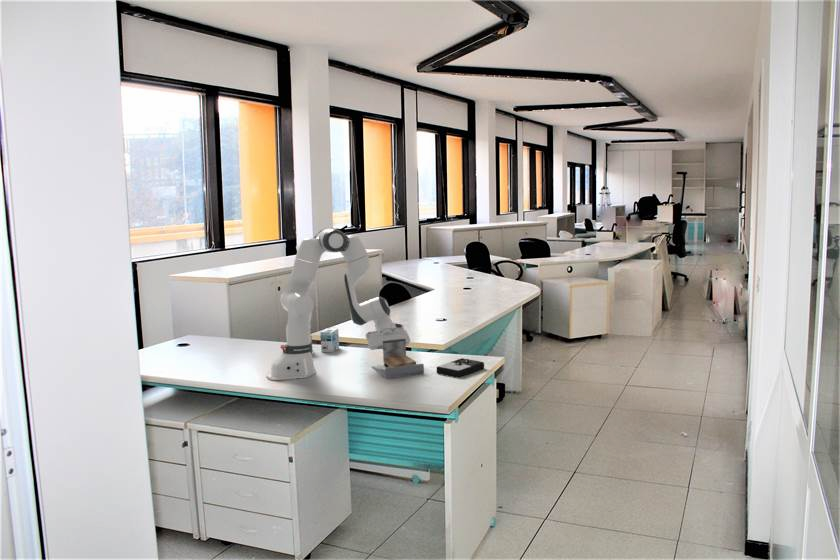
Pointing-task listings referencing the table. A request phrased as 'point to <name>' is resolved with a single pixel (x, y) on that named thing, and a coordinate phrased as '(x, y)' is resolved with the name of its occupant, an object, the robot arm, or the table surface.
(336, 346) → the light bulb box
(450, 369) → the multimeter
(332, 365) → the table surface
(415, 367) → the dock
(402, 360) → the open brown box
